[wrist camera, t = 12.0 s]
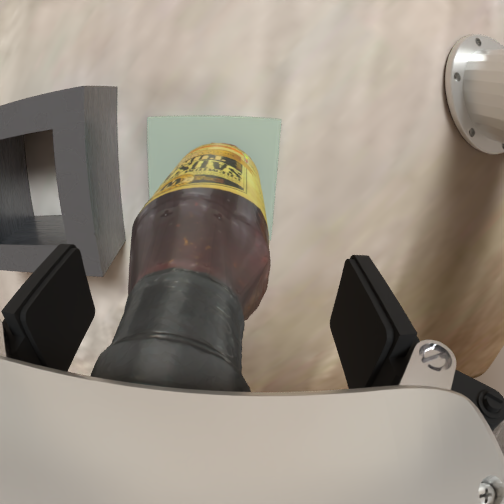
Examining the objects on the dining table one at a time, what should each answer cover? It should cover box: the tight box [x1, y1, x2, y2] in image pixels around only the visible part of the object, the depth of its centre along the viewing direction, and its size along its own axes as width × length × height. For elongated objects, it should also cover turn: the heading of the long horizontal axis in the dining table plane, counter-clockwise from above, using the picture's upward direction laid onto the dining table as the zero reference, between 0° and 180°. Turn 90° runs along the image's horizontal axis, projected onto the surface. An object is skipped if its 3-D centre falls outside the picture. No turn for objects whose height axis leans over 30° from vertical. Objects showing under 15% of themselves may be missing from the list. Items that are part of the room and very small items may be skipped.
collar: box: [0, 86, 126, 277], centre depth 20 cm, size 12×13×6 cm
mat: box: [147, 116, 281, 240], centre depth 24 cm, size 10×10×1 cm
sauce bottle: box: [91, 143, 270, 392], centre depth 15 cm, size 7×6×20 cm
